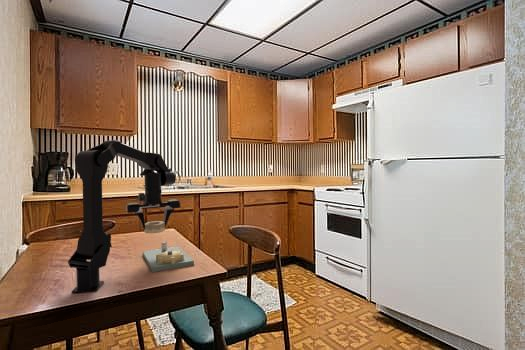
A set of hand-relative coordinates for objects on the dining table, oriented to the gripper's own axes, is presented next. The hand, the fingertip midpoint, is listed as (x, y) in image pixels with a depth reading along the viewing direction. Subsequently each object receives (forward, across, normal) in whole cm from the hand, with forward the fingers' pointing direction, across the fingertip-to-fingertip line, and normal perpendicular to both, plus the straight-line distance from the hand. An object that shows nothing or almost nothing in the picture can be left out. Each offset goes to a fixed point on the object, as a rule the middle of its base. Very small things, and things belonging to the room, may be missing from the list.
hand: (154, 228), depth 110 cm
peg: (+10, -3, -1) cm, 11 cm away
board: (+12, -3, +4) cm, 13 cm away
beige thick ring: (+1, 0, 0) cm, 1 cm away
